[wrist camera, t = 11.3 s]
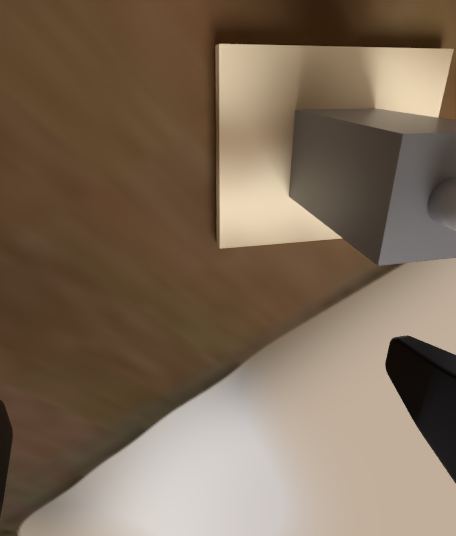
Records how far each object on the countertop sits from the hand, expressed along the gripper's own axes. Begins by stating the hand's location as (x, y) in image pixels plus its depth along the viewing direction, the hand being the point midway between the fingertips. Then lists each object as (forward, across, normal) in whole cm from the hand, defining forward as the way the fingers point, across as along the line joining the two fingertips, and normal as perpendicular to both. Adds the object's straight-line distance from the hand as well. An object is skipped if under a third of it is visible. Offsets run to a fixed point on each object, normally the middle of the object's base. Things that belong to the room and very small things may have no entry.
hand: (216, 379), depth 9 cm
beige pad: (+12, -8, -3) cm, 15 cm away
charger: (+11, -8, -3) cm, 14 cm away
